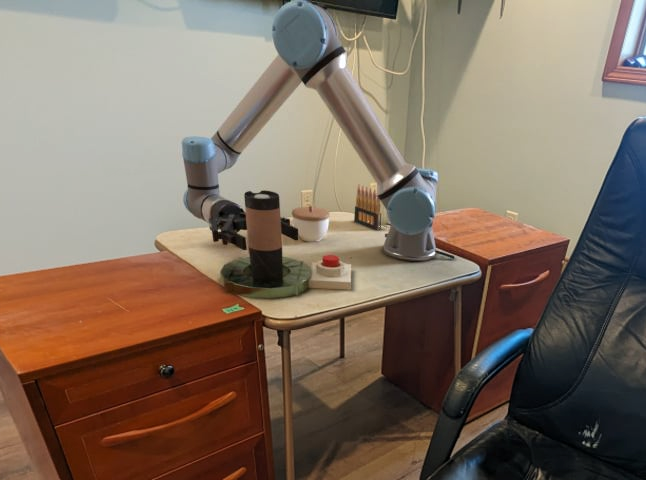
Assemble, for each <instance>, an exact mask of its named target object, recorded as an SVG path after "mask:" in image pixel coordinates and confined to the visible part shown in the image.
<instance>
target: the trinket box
mask: <svg viewBox="0 0 646 480" xmlns="http://www.w3.org/2000/svg"><path fill="white" fill-rule="evenodd" d="M291 217H292V218H291V219H292V226H293V227H295V228H297V229H298V237H299V238H300V239H301V240H302V241H304V242H309V243H312V242H313V243H315V242H320V241H322V239H323V238H324V237H325V236H326V234H327V233H328V230H329V224H330V212H329V210H327V209H325V208H321V207H316V206H313V205H308V206H299V207H295V208H293V209H292V210H291Z"/></svg>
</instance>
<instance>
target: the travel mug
mask: <svg viewBox="0 0 646 480" xmlns="http://www.w3.org/2000/svg"><path fill="white" fill-rule="evenodd" d="M243 196H244V197H243V198H244V212H245V213H246V223H247V230H246V235H247V246H248V248H247V249H248V257H249V256H250V264H251V273H252V274H251V278H255V279H261V280H273V279H280V278H284V274H283V262H282V257H283V234H281V218H280V217H281V201H280V194H279V193H277V192H276V191H273V190H260V192H252V191H251V190H248V191H245V192H244V195H243Z"/></svg>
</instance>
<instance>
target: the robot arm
mask: <svg viewBox="0 0 646 480" xmlns="http://www.w3.org/2000/svg"><path fill="white" fill-rule="evenodd" d="M271 36H272V42H273V45H274V48H275V50H276V53H277V55H276V56H275V57H274V59H273V60H272V61H271V63H270V64H269V65H268V67H267V68H266V69H265V71H263V73H262V74H261V75H260V77H259V78H258V79H257V81H256V82H255V83H254V84H253V85H252V87H251V88H250V89H249V91H247V93H246V94H245V96H243V98H242V99H241V100H240V102H239V103H238V104H237V105H236V106H235V108H234V109H233V110H232V112H231V113H230V114H229V115H228V117H227V118H226V119H225V121H223V123H222V124H221V126H219V128H218V130H217V131H216V132H215V133H214V135H213V136H211V138H210V137H205V136H185V137H183V139H182V140H181V150H182V151H181V156H182V159H183V165H184V170H185V171H184V172H185V178H186V184H187V188H186V190H185V191H184V194H183V200H182V201H183V205H184V207H185V209H186V210H187V211H188V212H189V213H190V214H191V215H193V216H194V217H195V218H197V219H199V220H202V221H204V222H206V223H207V224H208V225H209V230H210V231H211V234H212V235H211V236H212V242H214V243H219V241H220V240H221V242H222V245H224V246H226V245H229V244H231V245H234V246H235V247H237V248H239V249H241V250H242V251H247V249H248V248H247V238H246V237H245V236H243V235H242V234H240V233H239V232H240V231H247V223H246V211H245V209H244V208H243V207H242V206H241V205H240V204H238V203H236V202H234V201H232V200H230V199H228V198H226V197H224V196H221V194H220V184H219V183H220V182H219V174H220V173H222V172H224V171H227V170H229V169H231V168H232V167H234V165H235V164H236V163H237V162H238V160H239V157H240V155H242V153H243V152H244V150H245V149H246V148H247V147H248V146H249V145H250V143H252V141H253V140H254V139H255V138H256V136H258V134H259V133H260V132H261V131H262V129H263V128H264V127H265V126H266V125H267V124H268V123H269V122H270V120H271V119H272V118H273V117H274V115H275V114H276V113H277V112H278V111H279V110H280V108H281V107H282V106H283V105H284V104H285V103H286V101H287V100H288V99H289V98H290V97H291V95H293V93H294V92H295V91H296V89H298V88H299V86H300V85H301V84H303V86H305V88H307V89H311V90H314V91H316V93H317V94H318V95H319V97H320V99H321V101H323V103H324V105H325V106H326V108H327V109H328V111H329V112H330V114H331V116H332V117H333V119H334V120H335V122H336V123H337V125H338V126H339V128H340V129H341V131H342V132H343V134H344V135H345V137H346V138H347V140H348V142H349V143H350V145H351V146H352V148H353V150H354V151H355V153H356V154H357V155H358V157H359V158H360V160H361V162H362V163H363V164H364V166H365V167H366V169H367V170H368V173H369V174H370V175H371V177H372V178H373V180H374V182H375V183H376V186H377V187H376V197H377V196H378V197H379V199H380V203H381V205H383V207H384V209H385V210H386V215H387V218H388V221H389V223H390V224H391V225H390V227H389V230H388V233H384V238H385V240H384V244H383V252H384V253H385V254H386V255H388V256H389V257H391V258H394V259H396V260H401V261H408V262H424V261H428V260H432V259H433V258H435V257H436V254H437V255H441V256H445V257H447V258H451V259H455V255H453V254H450V253H446V252H444V251H440V250H437V246H436V241H435V237H434V230H433V223H434V219H435V215H436V212H437V211H436V210H437V209H436V200H437V199H436V197H437V189H438V184H439V174H438V172H437V171H435V170H433V169H427V168H419V167H416V165H415V164H410V163H407V162H406V161H405V159H404V158H403V156H402V154H401V153H400V151H399V150H398V148H397V146H396V144H395V143H394V141H393V140H392V138H391V136H390V135H389V133H388V131H387V130H386V128H385V127H384V125H383V123H382V122H381V120H380V118H379V117H378V114H377V113H376V111H375V110H374V108H373V107H372V105H371V104H370V102H369V101H368V98H367V97H366V95H365V94H364V91H363V90H362V89H361V87H360V86H359V84H358V82H357V81H356V79H355V77H354V75H353V74H352V72H351V70H350V69H349V67H348V66H347V61H348V60H347V58H348V52H347V50H346V49H345V47H344V45H343V43H342V41H340V39H339V33H338V28H337V26H336V22H335V21H334V19H333V17H332V16H331V14H330V13H329V12H328V11H327V10H326V8H323V7H322V6H320V5H318V4H314V3H312V2H310V1H307V0H291V1H289V2H286V3H285V4H283V5H282V6H281V7H280V8H279V9H278V10H277V12H276V14H275V16H274V18H273V22H272V28H271ZM280 218H281V234H282V236H285V237H287V238H288V239H291V240H293V241H295V242H297V241H299V235H298V229H297V228H295V227H294V225H291V219H290V218H288V217H284V216H283V217H281V216H280ZM219 230H220V231H219Z"/></svg>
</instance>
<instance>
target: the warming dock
mask: <svg viewBox="0 0 646 480" xmlns="http://www.w3.org/2000/svg"><path fill="white" fill-rule="evenodd" d="M282 262H283V278H280V279H273V280H261V279H255V278H252V276H251V275H252V273H251V264H250V256H249V255H248V256H245V257H243V256H242V257H241V256H238V258H236V259H233V260H231V261H229V262H227V263H225V264H223V266H222V267H221V269H220V271H219V273H220V274H219V276H220V279H221V280H220V282H221V283H222V285H223V287H224V289H225V290H226V293H233V294H235V295H237V296H243V297H248V298H250V299H251V298H252V299H269V300H270V299H272V300H273V299H280V298H289V297H292V296H299V294H301V293H304V292H305V291H306V290H308V289H310V288H309V279H311V274H312V270H311V267H310V266H309V265H308V264H307V263H305V261H304V260H298V259H295V258H290V257H286V256H282ZM250 276H251V277H250Z"/></svg>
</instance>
